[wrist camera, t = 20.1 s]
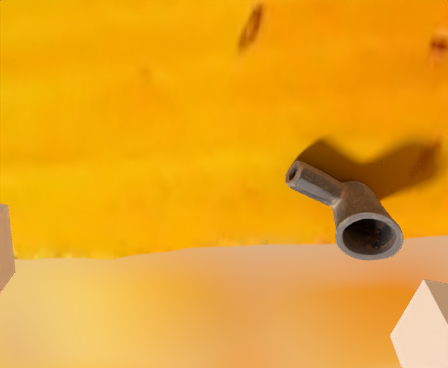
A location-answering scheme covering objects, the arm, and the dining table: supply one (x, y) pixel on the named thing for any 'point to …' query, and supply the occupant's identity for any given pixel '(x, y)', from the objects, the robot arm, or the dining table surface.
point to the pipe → (350, 212)
